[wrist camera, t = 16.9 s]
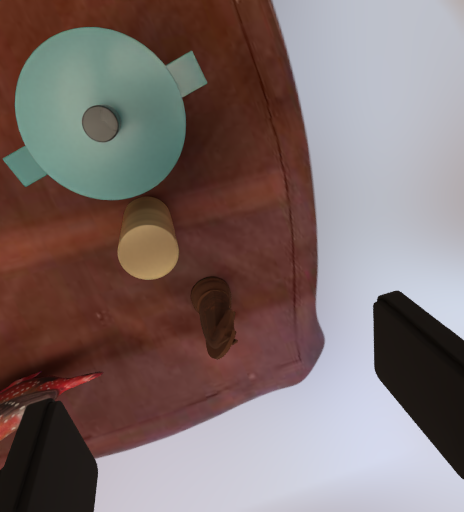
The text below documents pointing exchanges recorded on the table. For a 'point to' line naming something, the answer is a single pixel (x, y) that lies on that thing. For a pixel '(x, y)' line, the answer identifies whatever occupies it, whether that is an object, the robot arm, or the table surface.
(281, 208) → the table surface
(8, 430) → the decorative bird figurine
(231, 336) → the chess piece
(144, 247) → the cylinder
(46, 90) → the pot lid
